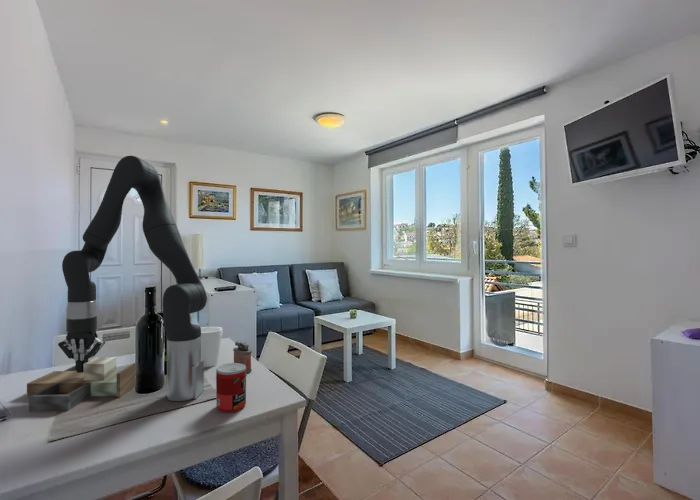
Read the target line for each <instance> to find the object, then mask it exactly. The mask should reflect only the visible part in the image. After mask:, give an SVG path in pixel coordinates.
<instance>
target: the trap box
mask: <svg viewBox="0 0 700 500" xmlns="http://www.w3.org/2000/svg"><path fill="white" fill-rule="evenodd" d="M136 362H137V361H135V362H133V363H131V364H130V365H129V366H126V368H124V369H122V370H117V373H116V374H114V375H112V376H111V377H109V378H107V379H106V380H84V372H83V373H77V371H76V369H75V365H72V366H71V367H69V368H67V369H65V370H59V371H58V370H53V371H51V372H49V373H46V374H44V375H42V376H40V377H38V378H36V379H34V380H32V381H29V382H27V383H26V397H27V398H28V404H29V407H28V411H29V412H66V411H67V412H69V411H70V410H72V409H73V408H75V407H77V406H78V405H80V404H81V403H83V402H84V401H86V400H88V399H90V397H116V398H122V396H124V395H126V394H127V393H129V391H131V390H132V389H134V388H135V387H136V386H135V376H136Z"/></svg>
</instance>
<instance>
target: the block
mask: <svg viewBox="0 0 700 500" xmlns="http://www.w3.org/2000/svg"><path fill="white" fill-rule="evenodd" d="M83 367H84V380H106V379H107V378H109V377H111V376H112V375H114V374H116V373H117V371H118V370H117V356H114V357H112V356H109V357H106V356H104V357H103V356H100V357H99V356H97V357H94V358H92V359H91V360H88V362H86V363H84V364H83Z"/></svg>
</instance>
